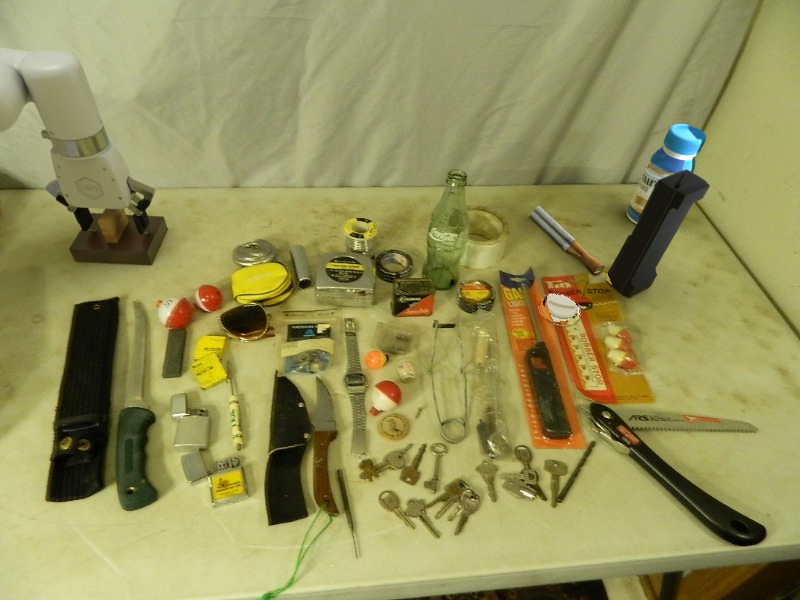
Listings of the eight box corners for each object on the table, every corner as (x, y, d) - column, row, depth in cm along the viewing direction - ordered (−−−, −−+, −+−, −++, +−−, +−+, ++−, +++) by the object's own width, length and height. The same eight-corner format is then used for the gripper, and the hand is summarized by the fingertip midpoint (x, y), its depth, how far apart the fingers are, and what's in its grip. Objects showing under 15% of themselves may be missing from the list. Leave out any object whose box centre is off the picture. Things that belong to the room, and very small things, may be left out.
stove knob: (578, 331, 89) (582, 323, 88) (535, 319, 90) (538, 311, 89) (581, 301, 94) (585, 293, 93) (540, 290, 95) (543, 283, 94)
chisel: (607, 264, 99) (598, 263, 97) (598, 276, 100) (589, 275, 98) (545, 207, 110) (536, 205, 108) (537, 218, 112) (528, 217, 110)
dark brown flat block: (74, 261, 92) (67, 248, 90) (96, 225, 99) (90, 212, 97) (151, 265, 93) (146, 251, 90) (168, 228, 100) (163, 215, 97)
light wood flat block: (117, 242, 92) (108, 220, 88) (106, 242, 91) (96, 220, 88) (129, 221, 96) (120, 199, 92) (118, 220, 96) (110, 198, 92)
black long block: (629, 265, 102) (690, 149, 84) (654, 284, 99) (723, 168, 81) (601, 278, 99) (659, 161, 81) (626, 299, 95) (692, 182, 77)
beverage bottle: (670, 231, 110) (719, 145, 96) (631, 229, 110) (674, 142, 95) (657, 206, 116) (701, 122, 102) (619, 204, 116) (658, 119, 101)
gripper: (8, 148, 77) (55, 239, 90) (130, 155, 78) (160, 243, 91) (32, 123, 83) (74, 212, 95) (146, 129, 84) (172, 216, 96)
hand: (116, 227), depth 93 cm, fingers open, 9 cm apart
